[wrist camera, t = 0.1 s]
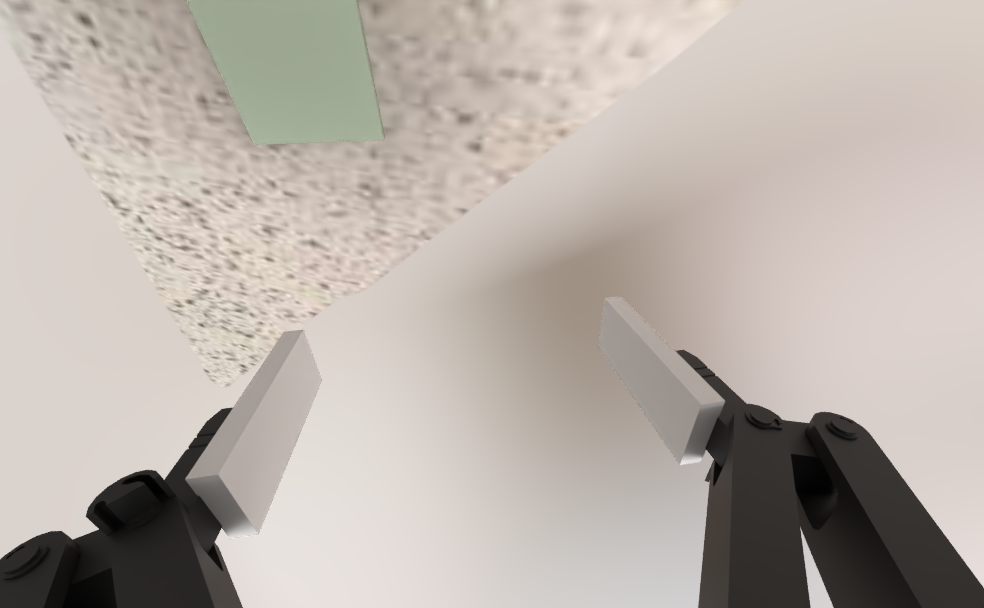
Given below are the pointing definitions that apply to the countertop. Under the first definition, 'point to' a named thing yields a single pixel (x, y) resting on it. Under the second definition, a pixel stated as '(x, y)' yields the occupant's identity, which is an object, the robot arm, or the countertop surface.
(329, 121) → the rubber pad
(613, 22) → the countertop surface
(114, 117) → the countertop surface
